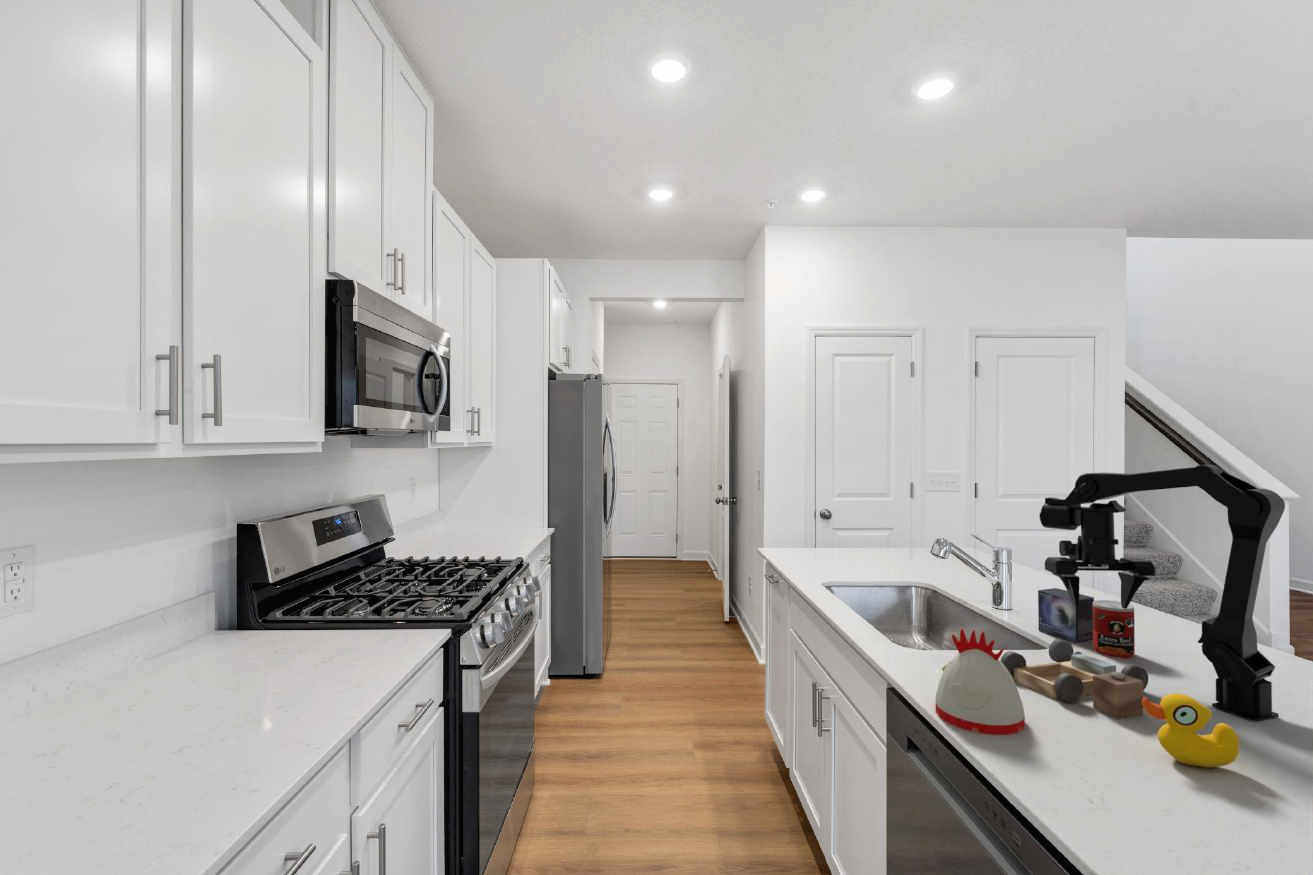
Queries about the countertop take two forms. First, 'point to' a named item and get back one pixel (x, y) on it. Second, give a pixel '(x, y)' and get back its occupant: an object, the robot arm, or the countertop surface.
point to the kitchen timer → (979, 690)
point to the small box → (1065, 615)
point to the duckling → (1192, 732)
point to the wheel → (1060, 651)
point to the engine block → (1118, 695)
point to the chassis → (1065, 674)
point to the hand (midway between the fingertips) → (1099, 607)
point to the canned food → (1113, 629)
